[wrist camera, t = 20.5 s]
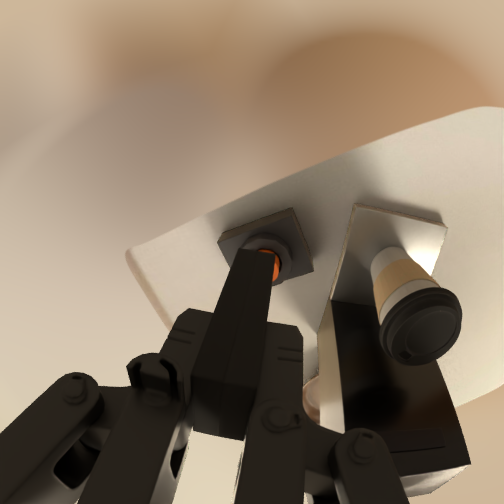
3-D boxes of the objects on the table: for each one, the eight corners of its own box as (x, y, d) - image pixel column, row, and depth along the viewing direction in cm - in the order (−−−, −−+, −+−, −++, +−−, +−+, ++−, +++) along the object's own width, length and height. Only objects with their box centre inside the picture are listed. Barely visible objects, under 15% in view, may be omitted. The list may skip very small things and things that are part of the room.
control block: (292, 207, 38) (291, 220, 34) (312, 259, 41) (314, 278, 37) (222, 232, 41) (213, 249, 36) (246, 281, 44) (241, 300, 39)
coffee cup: (349, 288, 40) (368, 368, 27) (370, 226, 36) (406, 292, 23) (407, 298, 40) (440, 372, 27) (430, 241, 36) (482, 304, 22)
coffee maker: (354, 203, 37) (441, 375, 12) (443, 223, 36) (565, 365, 11) (316, 334, 47) (318, 504, 22) (393, 343, 46) (430, 493, 21)
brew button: (273, 245, 36) (271, 252, 34) (284, 270, 37) (283, 279, 35) (245, 254, 37) (242, 262, 35) (257, 278, 38) (255, 287, 36)
